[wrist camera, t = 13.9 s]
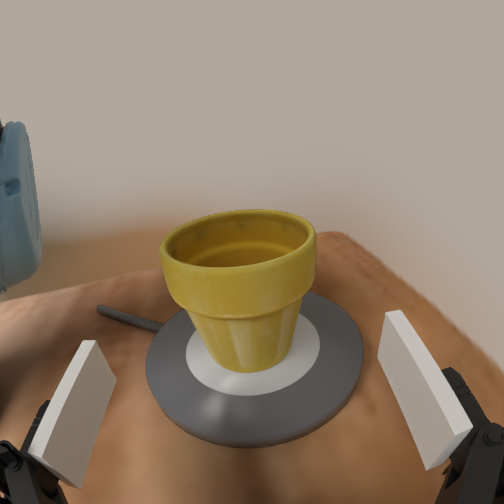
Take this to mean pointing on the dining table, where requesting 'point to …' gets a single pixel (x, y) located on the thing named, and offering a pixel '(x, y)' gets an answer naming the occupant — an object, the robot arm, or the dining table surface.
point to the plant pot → (242, 282)
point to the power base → (254, 378)
